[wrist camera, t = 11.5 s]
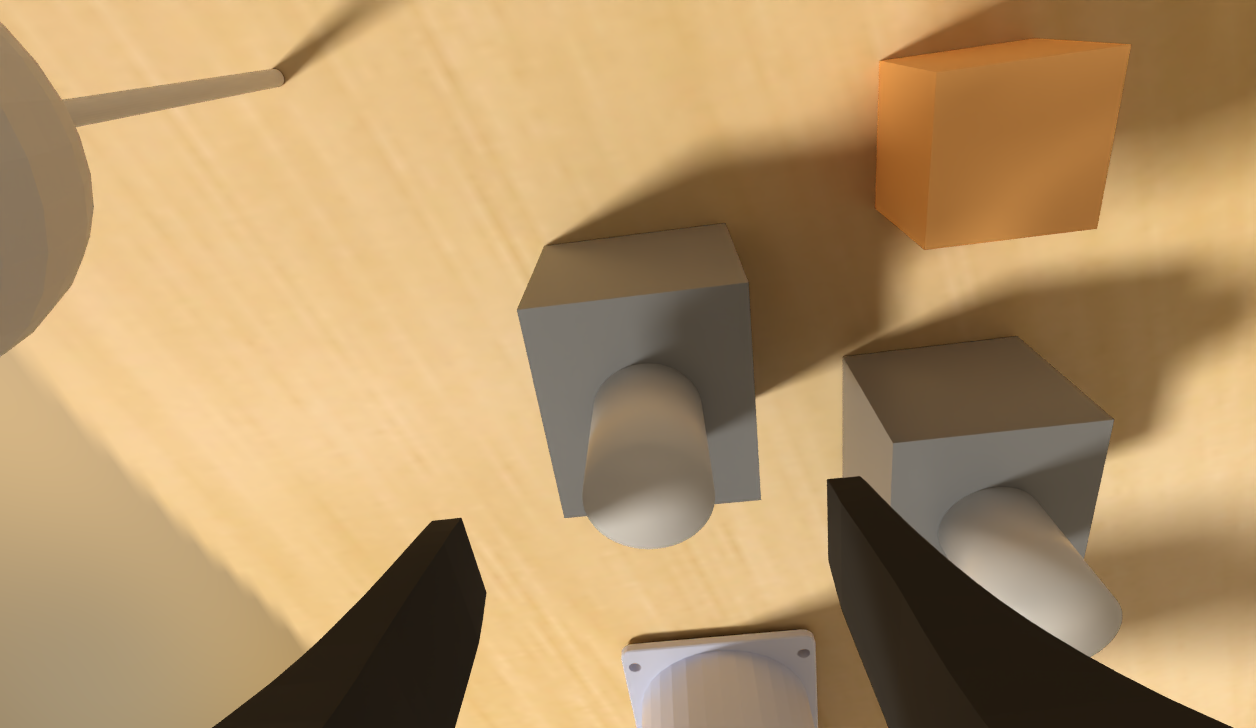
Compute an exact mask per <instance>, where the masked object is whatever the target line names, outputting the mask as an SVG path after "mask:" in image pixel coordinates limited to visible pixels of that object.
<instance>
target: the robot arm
mask: <svg viewBox="0 0 1256 728" xmlns="http://www.w3.org/2000/svg"><path fill="white" fill-rule="evenodd" d="M827 507H828V560H829V564H830V568H831V572H832V576H833V580H834V583H835V587H836V591H837V594H838V598H839V602H840V605H841V609H842V612H843V614H844V617H845V619H846V622H847V625H848V627H849V630H850V632H851V635H852V637H853V640H854V642H855V645H856V647H857V650H858V652H859V655H860V657H861V660H862V662H863V665H864V667H865V670H866V672H867V675H868V677H869V680H870V682H871V685H872V687H873V690H874V692H875V695H876V697H877V700H878V702H879V705H880V707H881V710H882V712H883V715H884V717H885V720H886V722H887V725H888V728H1233V727H1231V726H1228V725H1226V724H1224V723H1222V722H1219V721H1217V720H1215V719H1213V718H1211V717H1208V716H1206V715H1204V714H1202V713H1200V712H1197V711H1195V710H1193V709H1191V708H1188V707H1186V706H1184V705H1182V704H1180V703H1177V702H1175V701H1173V700H1171V699H1169V698H1167V697H1165V696H1163V695H1161V694H1159V693H1157V692H1155V691H1153V690H1151V689H1149V688H1147V687H1145V686H1143V685H1141V684H1139V683H1137V682H1135V681H1133V680H1131V679H1129V678H1127V677H1125V676H1123V675H1122V674H1120V673H1118V672H1116V671H1114V670H1112V669H1110V668H1109V667H1107V666H1105V665H1103V664H1101V663H1099V662H1098V661H1096V660H1094V659H1092V658H1090V657H1089V656H1087V655H1085V654H1084V653H1082V652H1080V651H1079V650H1077V649H1075V648H1074V647H1072V646H1070V645H1069V644H1067V643H1065V642H1063V641H1062V640H1060V639H1058V638H1057V637H1055V636H1053V635H1052V634H1050V633H1048V632H1047V631H1045V630H1044V629H1042V628H1041V627H1039V626H1037V625H1036V624H1034V623H1033V622H1031V621H1030V620H1028V619H1027V618H1025V617H1024V616H1022V615H1021V614H1019V613H1018V612H1016V611H1015V610H1014V609H1012V608H1011V607H1009V606H1008V605H1006V604H1005V603H1003V602H1002V601H1001V600H999V599H998V598H996V597H995V596H994V595H992V594H991V593H990V592H988V591H987V590H986V589H984V588H983V587H982V586H981V585H979V584H978V583H977V582H975V581H974V580H973V579H972V578H970V577H969V576H968V575H967V574H965V573H964V572H963V571H962V570H961V569H959V568H958V567H957V566H956V565H954V564H953V563H952V562H951V561H950V560H948V559H947V558H946V557H945V556H944V555H943V554H941V553H940V552H939V551H938V550H937V549H936V548H935V547H934V546H932V545H931V544H930V543H929V542H928V541H927V540H926V539H925V538H924V537H922V536H921V535H920V534H919V533H918V532H917V531H916V530H915V529H914V528H913V527H911V526H910V525H909V524H908V523H907V522H906V521H905V520H904V519H903V518H902V517H901V516H900V515H899V514H898V513H897V512H896V511H895V510H894V509H893V508H892V507H891V506H890V505H889V504H888V503H887V502H886V501H885V500H884V499H883V498H882V497H881V496H880V495H879V494H878V493H877V492H876V491H875V490H874V489H873V488H872V487H871V486H870V485H869V484H868V483H867V482H866V481H865V480H864V479H863V478H862V477H860V476H855V477H845V478H836V479H827ZM485 599H486V590H485V587H484V584H483V581H482V578H481V575H480V572H479V569H478V566H477V563H476V560H475V557H474V554H473V551H472V548H471V545H470V542H469V539H468V536H467V533H466V530H465V527H464V524H463V521H462V518H455V519H446V520H436V521H432V522H431V523H430V524H429V525H428V526H427V527H426V528H425V529H424V530H423V531H422V532H421V533H420V534H419V536H418V537H417V538H416V539H415V540H414V541H413V542H412V543H411V544H410V546H409V547H408V548H407V549H406V550H405V551H404V552H403V553H402V555H401V556H400V557H399V558H398V559H397V560H396V561H395V562H394V563H393V565H392V566H391V567H390V568H389V569H388V570H387V571H386V572H385V573H384V574H383V576H382V577H381V578H380V579H379V580H378V581H377V582H376V583H375V584H374V585H373V586H372V587H371V589H370V590H369V591H368V592H367V593H366V594H365V595H364V596H363V597H362V598H361V599H360V600H359V601H358V602H357V603H356V604H355V605H354V606H353V607H352V608H351V609H350V610H349V611H348V612H347V613H346V614H345V615H344V616H343V617H342V618H341V619H340V620H339V621H338V622H337V623H336V624H335V625H334V626H333V627H332V628H331V629H330V630H329V631H328V632H327V633H326V634H325V635H324V636H323V637H322V638H321V639H320V640H319V641H318V642H317V643H316V644H315V645H314V646H313V647H312V648H310V649H309V650H308V651H307V652H306V653H305V654H304V655H303V656H302V657H300V658H299V659H298V660H297V661H296V662H295V663H294V664H292V665H291V666H290V667H289V668H288V669H287V670H285V671H284V672H283V673H282V674H281V675H280V676H278V677H277V678H276V679H275V680H274V681H272V682H271V683H270V684H269V685H267V686H266V687H265V688H264V689H262V690H261V691H260V692H258V693H257V694H256V695H255V696H253V697H252V698H251V699H249V700H248V701H247V702H245V703H244V704H243V705H241V706H240V707H239V708H238V709H236V710H235V711H234V712H233V713H231V714H230V715H228V716H227V717H226V718H225V719H223V720H222V721H221V722H219V723H218V724H216V725H215V726H214V727H212V728H455V725H456V722H457V719H458V715H459V712H460V708H461V705H462V701H463V698H464V694H465V691H466V687H467V684H468V680H469V677H470V673H471V669H472V666H473V662H474V659H475V655H476V651H477V648H478V644H479V639H480V633H481V627H482V621H483V614H484V607H485ZM802 649H803V650H802ZM633 663H637V664H633ZM622 664H623V668H624V673H625V677H626V682H627V686H628V691H629V695H630V700H631V704H632V709H633V713H634V718H635V722H636V727H637V728H818V707H817V675H816V643H815V639H814V636H813V634H812V633H811V632H810V631H808V630H803V629H800V630H788V631H777V632H765V633H753V634H742V635H730V636H719V637H707V638H696V639H684V640H673V641H661V642H650V643H638V644H630V645H627V646H625V647H624V648H623V649H622Z"/></svg>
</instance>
